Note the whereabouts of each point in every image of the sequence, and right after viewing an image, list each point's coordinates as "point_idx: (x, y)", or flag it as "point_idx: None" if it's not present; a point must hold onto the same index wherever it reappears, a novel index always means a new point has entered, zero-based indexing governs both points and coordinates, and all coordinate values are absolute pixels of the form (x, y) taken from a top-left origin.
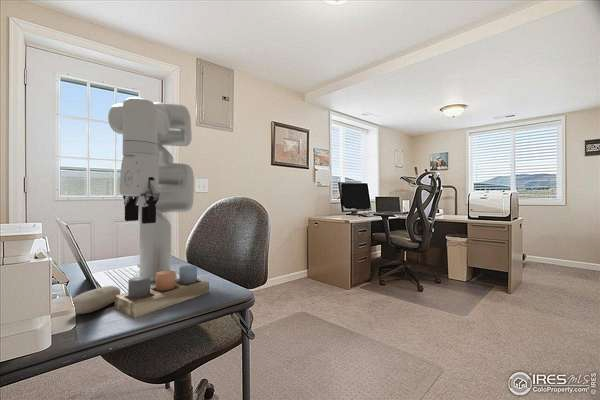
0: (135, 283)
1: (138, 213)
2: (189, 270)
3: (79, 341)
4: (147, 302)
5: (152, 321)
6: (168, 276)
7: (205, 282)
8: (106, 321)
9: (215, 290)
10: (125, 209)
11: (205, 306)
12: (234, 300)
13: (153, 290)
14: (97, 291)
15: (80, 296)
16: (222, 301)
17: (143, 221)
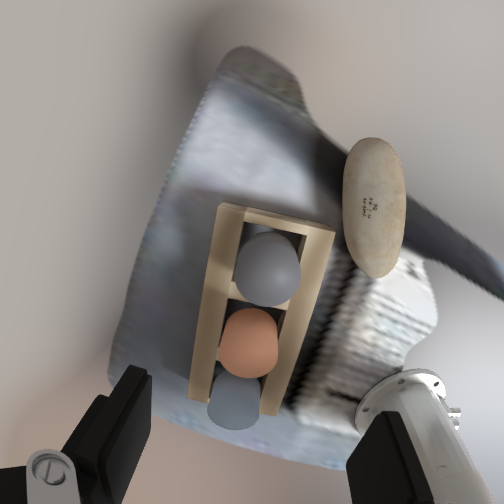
0: (251, 247)
1: (352, 498)
2: (212, 398)
3: (230, 78)
4: (212, 237)
5: (171, 205)
6: (222, 340)
7: (192, 393)
8: (270, 160)
9: None
10: (411, 473)
11: (134, 313)
12: (110, 357)
13: None
14: (373, 207)
15: (381, 163)
16: (125, 346)
17: (127, 374)
